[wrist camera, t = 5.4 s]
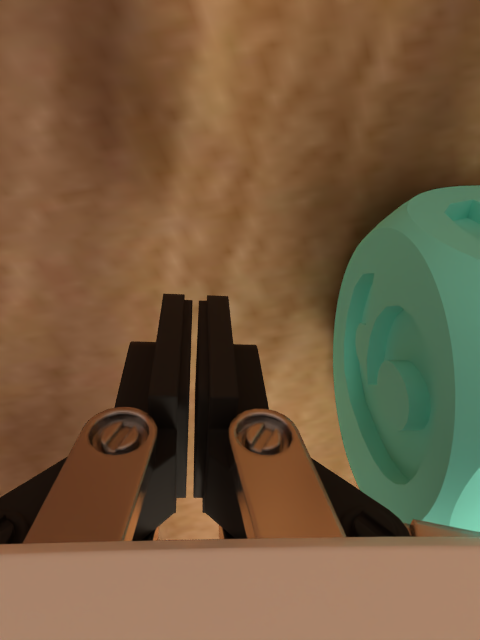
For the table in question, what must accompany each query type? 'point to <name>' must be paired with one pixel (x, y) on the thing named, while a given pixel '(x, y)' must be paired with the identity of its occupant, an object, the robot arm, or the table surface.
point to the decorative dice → (414, 359)
